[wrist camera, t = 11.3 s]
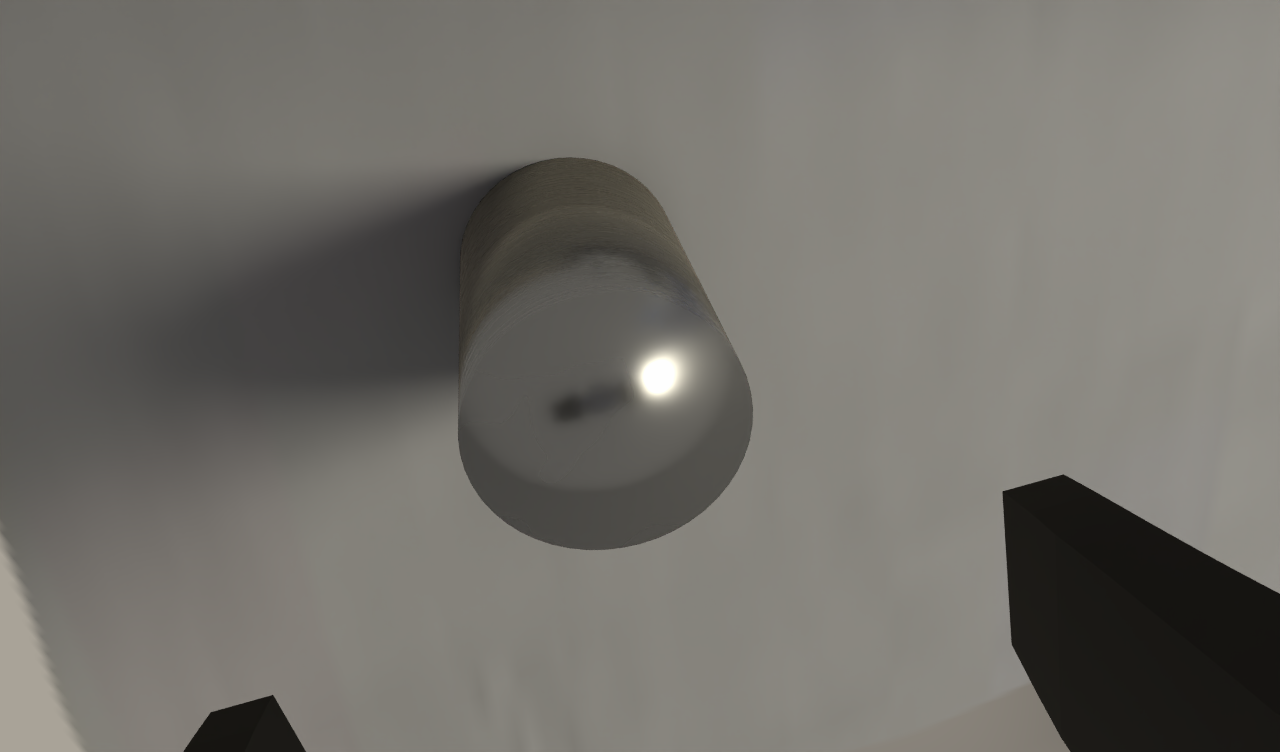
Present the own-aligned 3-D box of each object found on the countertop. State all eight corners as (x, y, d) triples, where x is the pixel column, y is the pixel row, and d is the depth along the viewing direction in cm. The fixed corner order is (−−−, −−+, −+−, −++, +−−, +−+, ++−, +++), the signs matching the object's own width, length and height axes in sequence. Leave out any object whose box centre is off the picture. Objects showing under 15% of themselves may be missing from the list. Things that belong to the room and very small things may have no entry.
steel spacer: (650, 132, 18) (724, 259, 13) (694, 327, 20) (773, 506, 15) (430, 190, 18) (416, 343, 13) (496, 382, 20) (506, 580, 15)
